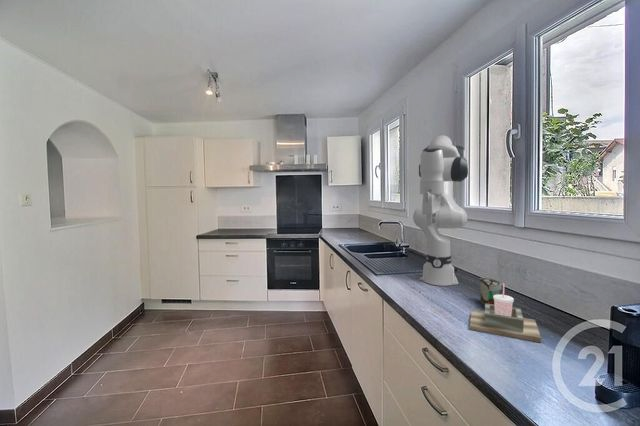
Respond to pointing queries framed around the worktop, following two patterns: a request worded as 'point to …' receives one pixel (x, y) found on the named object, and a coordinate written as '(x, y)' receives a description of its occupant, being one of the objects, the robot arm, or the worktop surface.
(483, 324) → the collar stand
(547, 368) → the worktop surface
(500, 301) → the beverage cup
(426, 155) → the robot arm
